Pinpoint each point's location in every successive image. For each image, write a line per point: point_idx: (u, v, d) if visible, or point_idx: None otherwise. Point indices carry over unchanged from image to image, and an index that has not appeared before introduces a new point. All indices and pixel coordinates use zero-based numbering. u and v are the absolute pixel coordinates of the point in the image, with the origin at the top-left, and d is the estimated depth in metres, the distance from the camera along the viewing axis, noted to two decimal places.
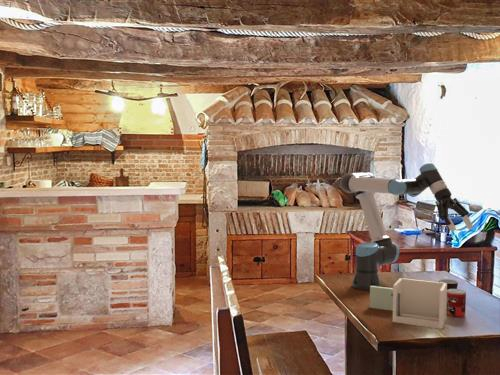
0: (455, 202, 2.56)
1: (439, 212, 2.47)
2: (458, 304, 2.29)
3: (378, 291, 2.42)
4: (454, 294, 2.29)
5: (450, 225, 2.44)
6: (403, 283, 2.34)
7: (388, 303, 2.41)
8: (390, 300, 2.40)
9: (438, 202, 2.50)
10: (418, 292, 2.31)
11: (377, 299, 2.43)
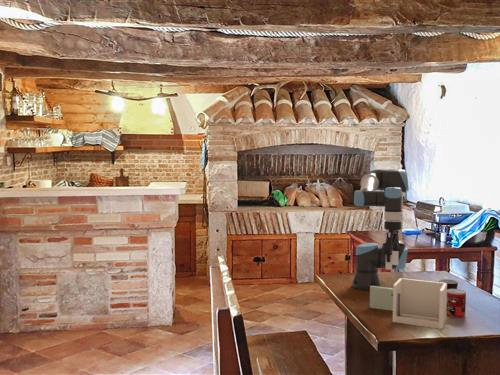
0: None
1: (386, 246, 2.33)
2: (458, 304, 2.29)
3: (378, 291, 2.42)
4: (454, 294, 2.29)
5: (388, 263, 2.34)
6: (403, 283, 2.34)
7: (388, 303, 2.41)
8: (390, 300, 2.40)
9: (390, 235, 2.34)
10: (418, 292, 2.31)
11: (377, 299, 2.43)
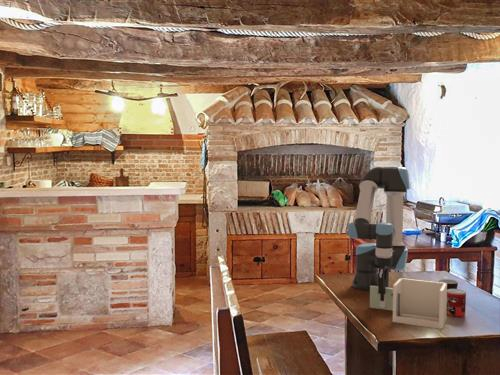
0: None
1: (379, 287, 2.38)
2: (458, 304, 2.29)
3: None
4: (454, 294, 2.29)
5: (382, 301, 2.41)
6: (403, 283, 2.34)
7: (388, 303, 2.41)
8: (390, 300, 2.40)
9: (381, 276, 2.36)
10: (418, 292, 2.31)
11: (377, 299, 2.43)
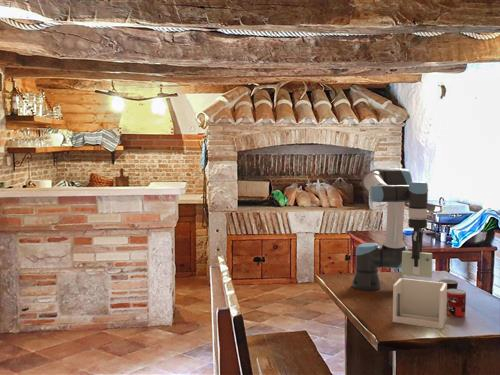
0: None
1: (413, 251, 2.17)
2: (458, 304, 2.29)
3: (411, 256, 2.22)
4: (454, 294, 2.29)
5: (416, 267, 2.20)
6: (403, 283, 2.34)
7: (422, 269, 2.20)
8: (425, 266, 2.19)
9: (415, 239, 2.16)
10: (418, 292, 2.31)
11: (410, 265, 2.22)
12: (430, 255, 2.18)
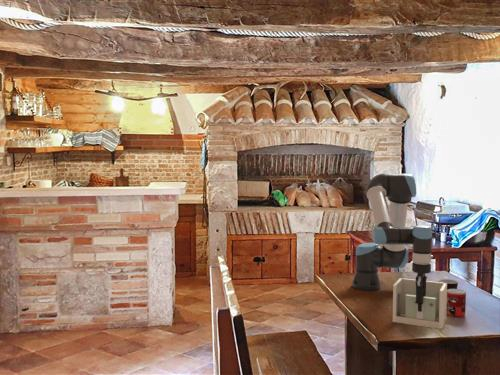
0: None
1: (417, 296, 2.16)
2: (458, 304, 2.29)
3: (415, 300, 2.21)
4: (454, 294, 2.29)
5: (420, 312, 2.20)
6: (403, 283, 2.34)
7: (426, 314, 2.19)
8: (428, 310, 2.19)
9: (419, 285, 2.15)
10: None
11: (414, 309, 2.21)
12: (434, 300, 2.17)
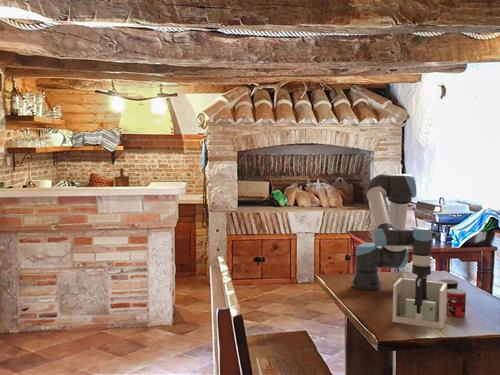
0: None
1: (416, 297, 2.15)
2: (458, 304, 2.29)
3: (415, 305, 2.21)
4: (454, 294, 2.29)
5: (418, 314, 2.17)
6: (403, 283, 2.34)
7: (426, 318, 2.19)
8: (428, 315, 2.19)
9: (419, 285, 2.14)
10: None
11: (414, 313, 2.21)
12: (434, 304, 2.17)
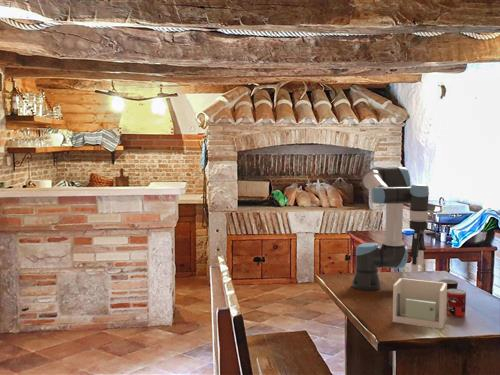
0: None
1: (413, 248, 2.20)
2: (458, 304, 2.29)
3: (415, 305, 2.21)
4: (454, 294, 2.29)
5: (414, 265, 2.22)
6: (403, 283, 2.34)
7: (426, 318, 2.19)
8: (428, 315, 2.19)
9: (416, 236, 2.21)
10: (418, 292, 2.31)
11: (414, 313, 2.21)
12: (434, 304, 2.17)
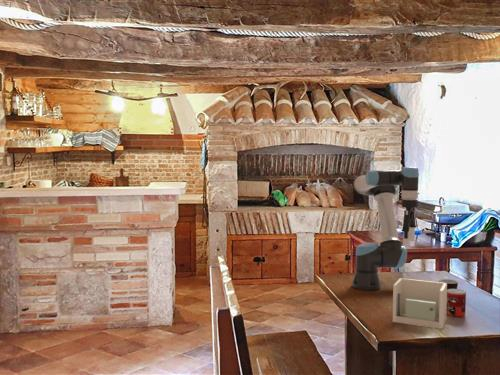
0: None
1: (404, 224, 2.44)
2: (458, 304, 2.29)
3: (415, 305, 2.21)
4: (454, 294, 2.29)
5: (406, 239, 2.46)
6: (403, 283, 2.34)
7: (426, 318, 2.19)
8: (428, 315, 2.19)
9: (407, 213, 2.45)
10: (418, 292, 2.31)
11: (414, 313, 2.21)
12: (434, 304, 2.17)
